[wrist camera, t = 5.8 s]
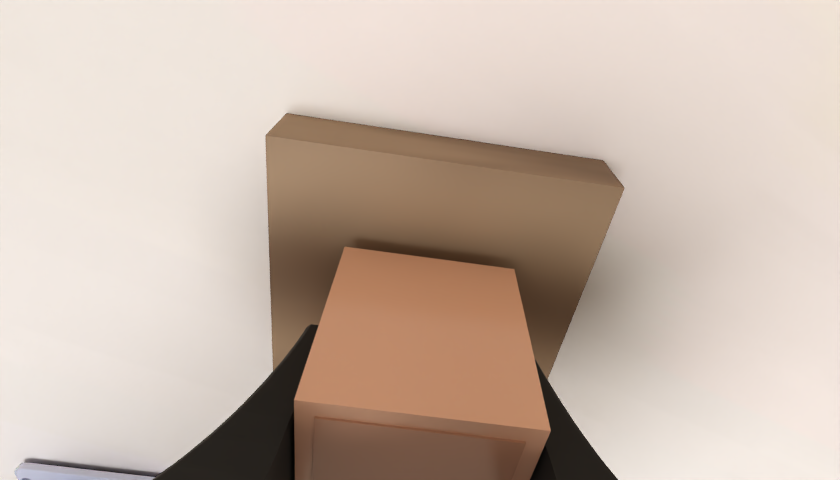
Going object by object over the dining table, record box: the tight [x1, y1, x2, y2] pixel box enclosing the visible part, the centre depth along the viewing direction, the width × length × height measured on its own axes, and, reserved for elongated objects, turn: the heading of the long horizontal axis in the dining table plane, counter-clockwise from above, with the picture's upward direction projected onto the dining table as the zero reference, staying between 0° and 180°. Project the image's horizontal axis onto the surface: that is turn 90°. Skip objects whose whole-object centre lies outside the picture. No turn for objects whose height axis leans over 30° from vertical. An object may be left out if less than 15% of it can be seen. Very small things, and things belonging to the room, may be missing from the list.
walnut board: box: [266, 113, 624, 379], centre depth 17 cm, size 10×10×2 cm
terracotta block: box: [294, 247, 551, 480], centre depth 13 cm, size 5×5×6 cm
